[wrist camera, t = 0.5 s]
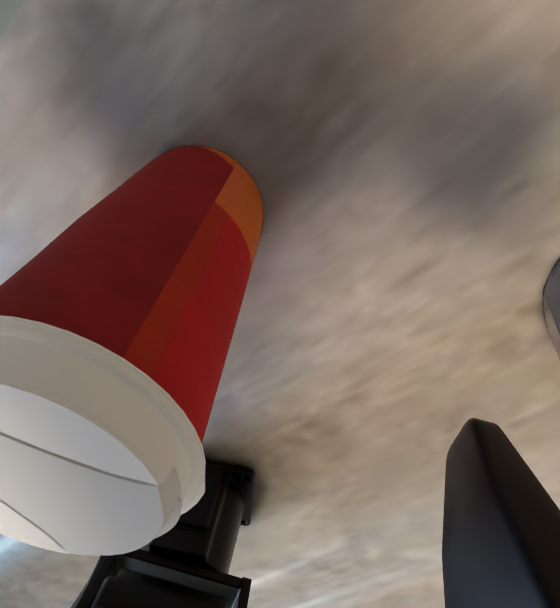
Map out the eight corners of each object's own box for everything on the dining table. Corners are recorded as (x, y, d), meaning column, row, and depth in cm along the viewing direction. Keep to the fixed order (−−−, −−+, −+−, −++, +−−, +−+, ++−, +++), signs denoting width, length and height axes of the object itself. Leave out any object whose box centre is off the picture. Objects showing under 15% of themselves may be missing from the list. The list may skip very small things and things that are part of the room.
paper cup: (91, 209, 24) (-164, 464, 13) (173, 75, 20) (-104, 289, 9) (226, 306, 26) (106, 595, 15) (327, 204, 22) (261, 506, 11)
